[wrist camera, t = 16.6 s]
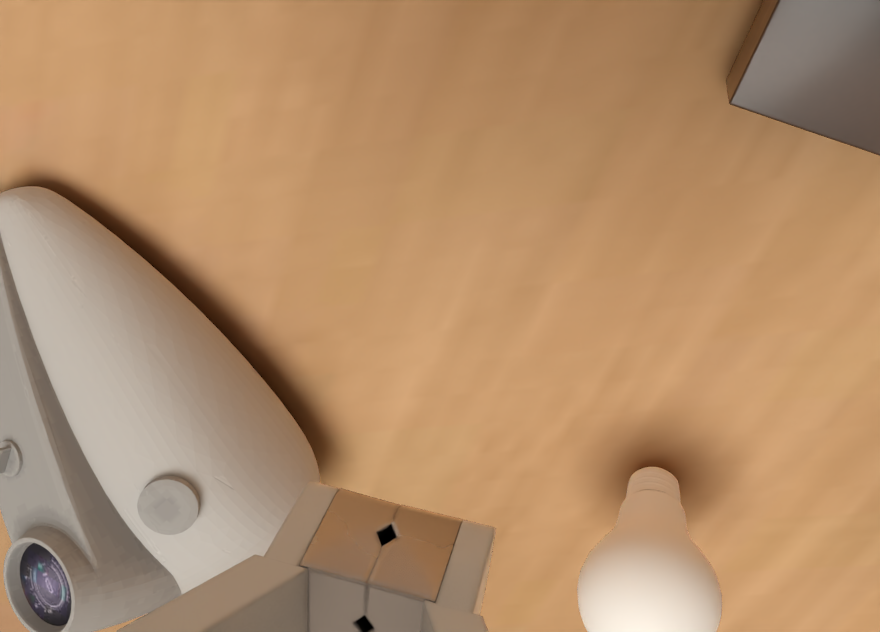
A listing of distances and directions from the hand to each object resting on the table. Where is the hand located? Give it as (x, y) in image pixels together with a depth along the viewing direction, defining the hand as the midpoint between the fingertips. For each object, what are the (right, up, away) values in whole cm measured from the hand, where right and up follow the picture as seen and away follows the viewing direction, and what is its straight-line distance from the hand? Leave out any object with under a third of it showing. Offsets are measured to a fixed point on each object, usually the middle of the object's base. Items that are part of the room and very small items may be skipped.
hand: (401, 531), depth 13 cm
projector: (-16, +1, +35) cm, 39 cm away
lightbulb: (+12, -5, +30) cm, 33 cm away
